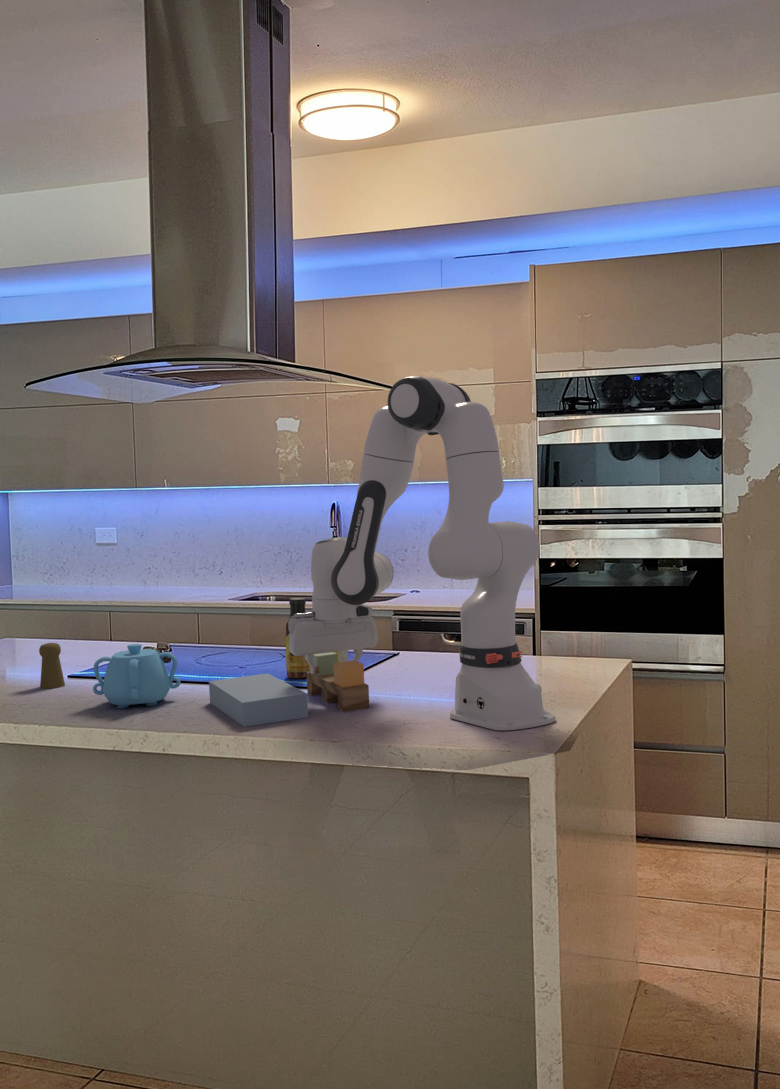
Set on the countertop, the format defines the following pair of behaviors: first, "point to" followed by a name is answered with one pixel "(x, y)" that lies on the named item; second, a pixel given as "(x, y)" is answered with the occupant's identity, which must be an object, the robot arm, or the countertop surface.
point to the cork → (51, 666)
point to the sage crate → (325, 662)
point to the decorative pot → (136, 677)
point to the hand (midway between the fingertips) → (334, 671)
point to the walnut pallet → (338, 692)
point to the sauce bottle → (294, 664)
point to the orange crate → (348, 673)
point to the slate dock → (258, 699)
